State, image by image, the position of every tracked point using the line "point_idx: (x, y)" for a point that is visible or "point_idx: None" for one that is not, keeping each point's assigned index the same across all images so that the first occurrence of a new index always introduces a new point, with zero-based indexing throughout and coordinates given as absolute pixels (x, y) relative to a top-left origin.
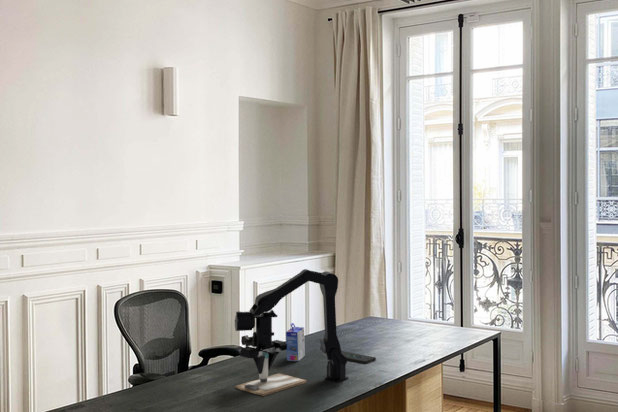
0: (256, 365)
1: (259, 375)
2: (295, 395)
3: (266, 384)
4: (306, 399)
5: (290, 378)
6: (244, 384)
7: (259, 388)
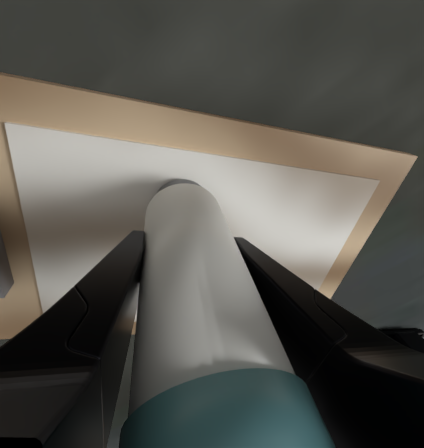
0: (82, 284)
1: (149, 211)
2: (129, 381)
3: None
4: (118, 414)
5: (311, 277)
6: (2, 110)
7: (36, 272)
